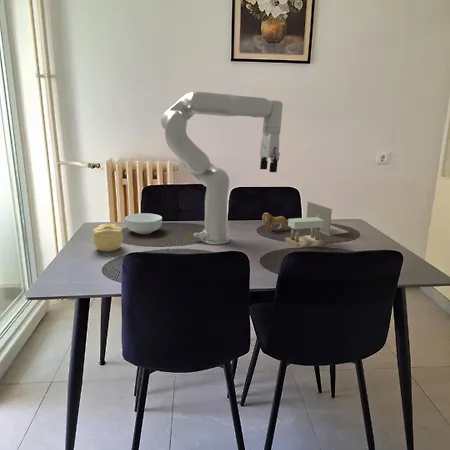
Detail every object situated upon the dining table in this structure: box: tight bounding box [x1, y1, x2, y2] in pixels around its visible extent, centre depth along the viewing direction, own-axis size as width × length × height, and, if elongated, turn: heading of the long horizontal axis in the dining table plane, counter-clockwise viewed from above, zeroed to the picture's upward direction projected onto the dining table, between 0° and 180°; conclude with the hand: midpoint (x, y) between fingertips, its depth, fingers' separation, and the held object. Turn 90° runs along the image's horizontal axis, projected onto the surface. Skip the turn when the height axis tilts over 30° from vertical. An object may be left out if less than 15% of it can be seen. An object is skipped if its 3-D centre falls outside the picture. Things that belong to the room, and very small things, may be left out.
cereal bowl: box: [124, 212, 163, 235], centre depth 184 cm, size 17×17×7 cm
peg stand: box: [284, 228, 326, 249], centre depth 172 cm, size 14×10×8 cm
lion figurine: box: [261, 212, 289, 232], centre depth 192 cm, size 15×5×9 cm, turn 113°
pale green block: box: [287, 217, 324, 230], centre depth 171 cm, size 14×6×3 cm, turn 107°
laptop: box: [305, 201, 350, 237], centre depth 194 cm, size 18×12×13 cm
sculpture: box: [92, 223, 124, 253], centre depth 158 cm, size 12×12×11 cm
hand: (268, 170), depth 174 cm, fingers open, 9 cm apart
